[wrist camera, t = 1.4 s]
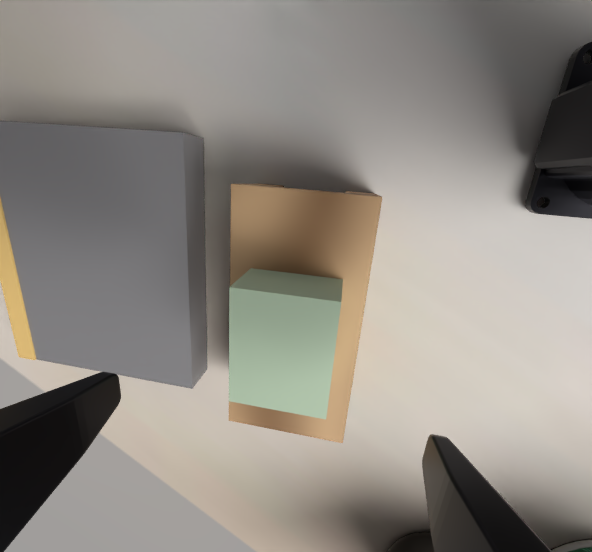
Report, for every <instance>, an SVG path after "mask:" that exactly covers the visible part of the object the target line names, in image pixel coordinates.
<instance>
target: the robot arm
mask: <svg viewBox="0 0 592 552" xmlns="http://www.w3.org/2000/svg"><path fill="white" fill-rule="evenodd" d="M585 53H588V54H589V55H590V56H591V61H590V62H589V64H586V63H584V61H583V56H584V54H585ZM534 164H535V166H536V170H535V173H534V177H533V180H532V183H531V187H530V190H529V193H528V196H527V200H526V208H527V209H528V210H529V211H530V212H532V213H537V214H546V215H557V216H569V217H580V218H591V219H592V42H589V43H587V44H586V45H584V46H582V47H580V48H579V49H577V50H576V51H575V52H574V53H573V54H572V56H571V58H570V60H569V63H568V66H567V69H566V73H565V76H564V79H563V82H562V86H561V89H560V92H559V95H558V96H557V97H556V98H555V99H553V101H552V103H551V107H550V110H549V113H548V116H547V120H546V123H545V126H544V130H543V133H542V136H541V140H540V143H539V146H538V149H537V153H536V156H535V159H534ZM541 197H543V198H544V204H543V205H542V206H541V207H538V206H537V201H538V199H540V198H541ZM120 399H121V392H120V384H119V377H118V376H117V374H115V373H110V372H101V373H98V374H95V375H92V376H90V377H87V378H84V379H81V380H79V381H76V382H73V383H70V384H68V385H65V386H62V387H59V388H57V389H54V390H51V391H48V392H46V393H43V394H41V395H38V396H35V397H33V398H29V399H27V400H24V401H21V402H18V403H16V404H13V405H10V406H8V407H5V408H2V409H0V552H4V551H5V550H6V548H7V547H8V546H9V545H10V543H11V542H12V541H13V540H14V539H15V537H16V536H17V535H18V534H19V532H20V531H21V530H22V529H23V528H24V526H25V525H26V524H27V523H28V521H29V520H30V519H31V518H32V517H33V516H34V514H35V513H36V512H37V511H38V509H39V508H40V507H41V506H42V505H43V503H44V502H45V501H46V500H47V498H48V497H49V496H50V495H51V494H52V492H53V491H54V490H55V489H56V487H57V486H58V485H59V484H60V483H61V481H62V480H63V479H64V478H65V477H66V475H67V474H68V473H69V472H70V470H71V469H72V468H73V467H74V466H75V464H76V463H77V462H78V461H79V459H80V458H81V457H82V456H83V454H84V453H85V452H86V450H87V449H88V448H89V446H90V445H91V443H92V442H93V440H94V439H95V438H96V436H97V435H98V433H99V432H100V430H101V429H102V428H103V426H104V425H105V423H106V422H107V420H108V419H109V417H110V416H111V415H112V413H113V412H114V410H115V409H116V407H117V406H118V404H119V402H120ZM422 467H423V476H424V483H425V491H426V499H427V507H428V515H429V523H430V530H431V536H432V541H433V546H434V551H435V552H552V551H551V550H550V549H549V548H548V547H547V546H546V545H545V543H544V542H543V541H542V540H541V539H540V538H539V537H538V536H537V535H536V534H535V533H534V531H533V530H532V529H531V528H530V527H529V526H528V525H527V524H526V523H525V522H524V521H523V519H522V518H521V517H520V516H519V515H518V514H517V513H516V512H515V511H514V510H513V509H512V507H511V506H510V505H509V504H508V503H507V502H506V501H505V500H504V499H503V498H502V496H501V495H500V494H499V493H498V492H497V491H496V490H495V489H494V488H493V487H492V486H491V484H490V483H489V482H488V481H487V480H486V479H485V478H484V477H483V476H482V475H481V474H480V472H479V471H478V470H477V469H476V468H475V467H474V466H473V465H472V464H471V463H470V462H469V460H468V459H467V458H466V457H465V456H464V455H463V454H462V453H461V452H460V451H459V449H458V448H457V447H456V446H455V445H454V444H453V443H452V442H451V441H450V440H449V439H448V438H447V437H444V436H439V435H433V434H432V435H430V436H429V438H428V441H427V444H426V448H425V452H424V455H423V460H422Z"/></svg>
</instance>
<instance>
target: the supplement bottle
mask: <svg viewBox="0 0 592 552" xmlns="http://www.w3.org/2000/svg"><path fill="white" fill-rule="evenodd" d="M388 552H435V551H434V546H433V541H432V536H431V532H421V533H414V534H410V535H407V536H405V537H402V538H401V539H399V540H397V541H396V542H395V543H394V544H393V545H392V546H391V547H390V549H389V551H388Z"/></svg>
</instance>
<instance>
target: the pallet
mask: <svg viewBox="0 0 592 552" xmlns="http://www.w3.org/2000/svg"><path fill="white" fill-rule="evenodd" d="M381 202H382V197H381V196H379V195H377V194H374V193H362V192H351V191H346V193H341V192H330V191H318V190H307V189H295V188H284V186H281V185H269V184H231V236H230V286H231V285H232V284H233V283H235V282H236V281H237V280H238V279H239V278H240V277H241V276H243V275H244V274H245V273H246V272H247V271H248V270H249V269H251V268H254V269H262V270H270V271H278V272H286V273H295V274H303V275H311V276H319V277H327V278H336V279H343V287H342V300H341V309H340V316H339V324H338V332H337V339H336V347H335V355H334V363H333V370H332V378H331V386H330V393H329V401H328V409H327V417H326V419H320V418H315V417H310V416H305V415H299V414H294V413H289V412H283V411H278V410H273V409H267V408H262V407H257V406H252V405H246V404H241V403H236V402H230V401H229V421H234V422H239V423H244V424H249V425H254V426H259V427H264V428H269V429H274V430H279V431H284V432H289V433H294V434H299V435H304V436H309V437H314V438H319V439H324V440H329V441H334V442H339V443H343V437H344V431H345V425H346V419H347V412H348V406H349V400H350V394H351V388H352V382H353V375H354V369H355V363H356V357H357V351H358V344H359V338H360V332H361V326H362V320H363V314H364V307H365V301H366V295H367V289H368V283H369V276H370V270H371V264H372V258H373V252H374V246H375V239H376V233H377V227H378V221H379V215H380V208H381Z"/></svg>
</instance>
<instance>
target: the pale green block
mask: <svg viewBox="0 0 592 552" xmlns="http://www.w3.org/2000/svg"><path fill="white" fill-rule="evenodd" d="M342 287H343V279H336V278H327V277H319V276H311V275H303V274H295V273H286V272H278V271H270V270H262V269H254V268H251V269H249V270H248V271H247V272H246V273H245V274H244V275H243V276H241V277H240V278H239V279H238V280H237V281H236V282H235V283H233V284H232V285H231V286H230V287H229V401H230V402H236V403H241V404H246V405H252V406H257V407H262V408H267V409H273V410H278V411H283V412H289V413H294V414H299V415H305V416H310V417H315V418H320V419H326V417H327V409H328V401H329V393H330V386H331V378H332V370H333V363H334V355H335V347H336V339H337V332H338V324H339V316H340V309H341V300H342Z"/></svg>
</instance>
